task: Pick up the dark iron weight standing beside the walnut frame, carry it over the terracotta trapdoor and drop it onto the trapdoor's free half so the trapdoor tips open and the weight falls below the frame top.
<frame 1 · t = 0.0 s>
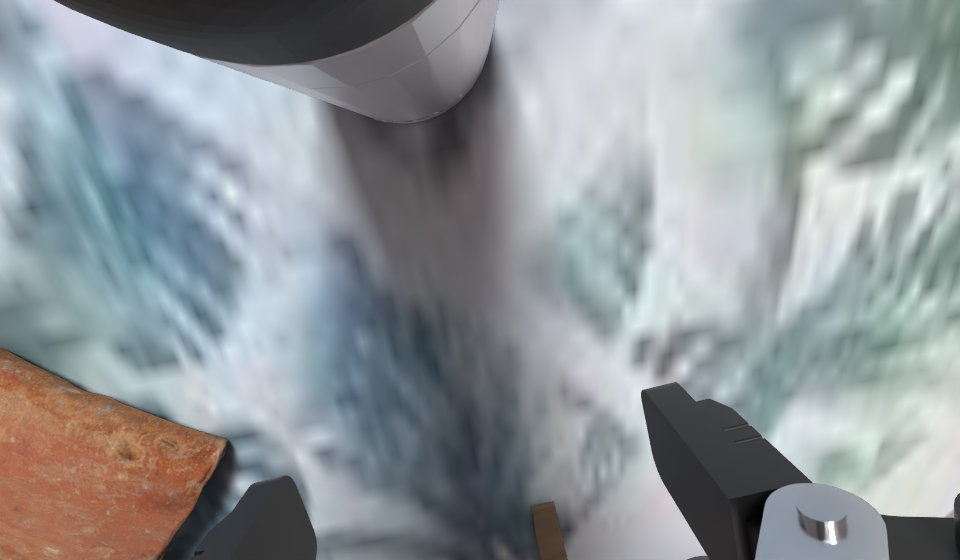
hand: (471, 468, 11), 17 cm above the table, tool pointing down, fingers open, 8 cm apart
reddish brown rock: (90, 475, 31), on the table
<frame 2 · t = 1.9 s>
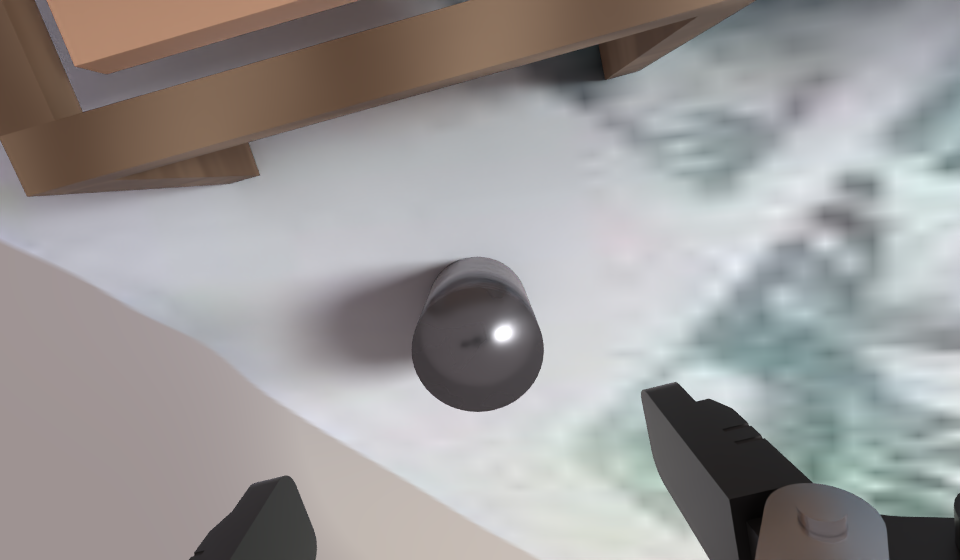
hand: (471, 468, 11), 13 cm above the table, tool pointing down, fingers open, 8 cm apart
iron weight: (477, 305, 23), on the table
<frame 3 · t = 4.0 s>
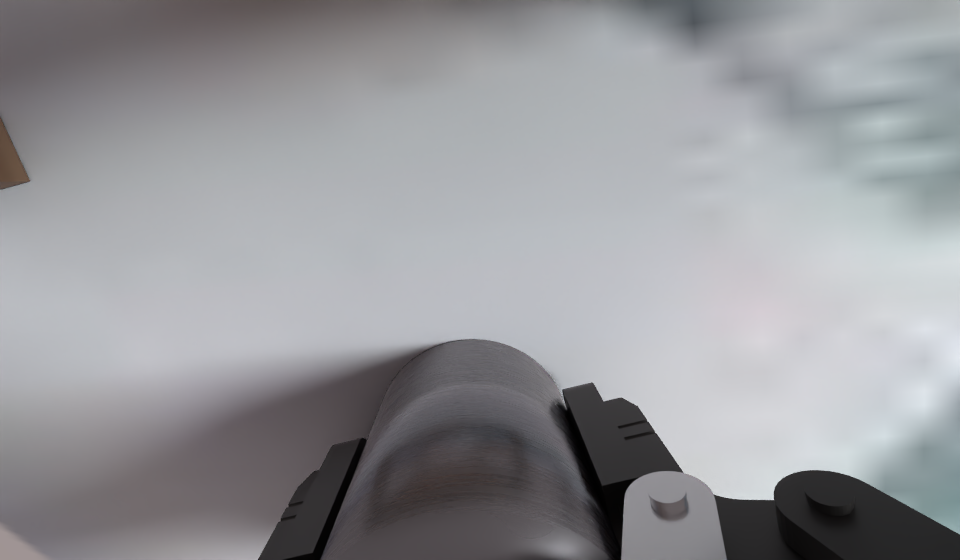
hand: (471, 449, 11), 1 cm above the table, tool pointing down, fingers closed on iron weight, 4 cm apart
iron weight: (473, 428, 12), on the table, touching gripper
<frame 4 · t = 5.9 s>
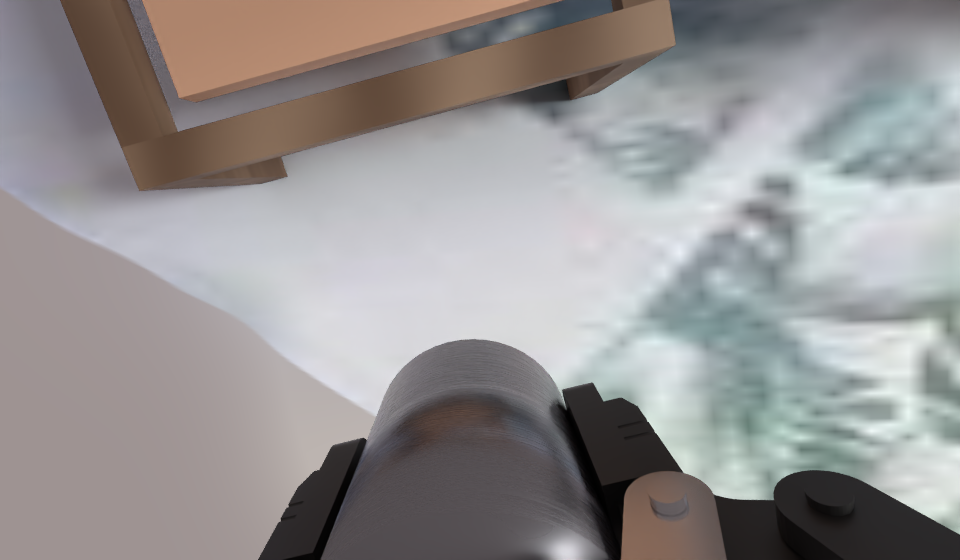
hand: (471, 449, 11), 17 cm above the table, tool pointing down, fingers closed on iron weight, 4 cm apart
iron weight: (473, 427, 12), point 16 cm above the table, touching gripper
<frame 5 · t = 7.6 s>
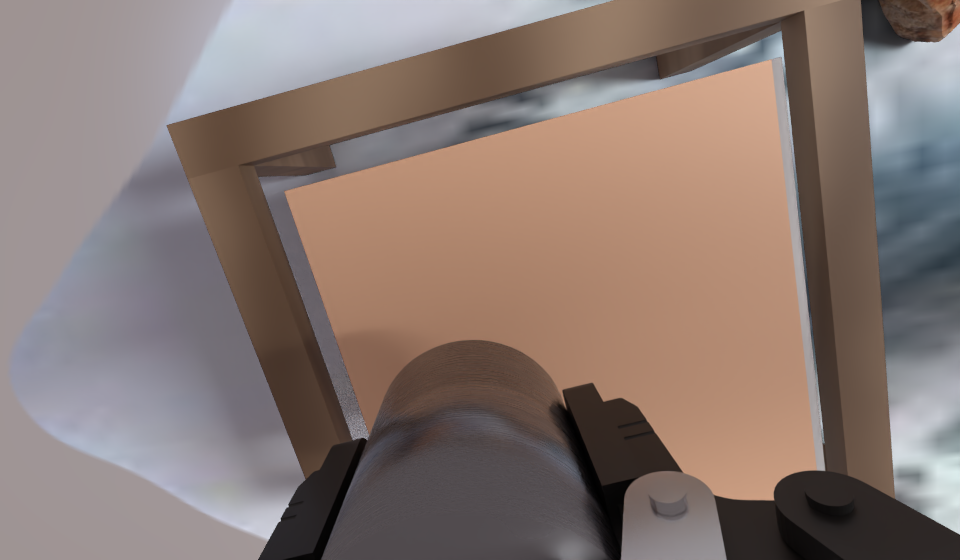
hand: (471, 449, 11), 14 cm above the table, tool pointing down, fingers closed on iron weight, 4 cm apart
iron weight: (473, 428, 12), point 13 cm above the table, touching gripper
trapdoor: (579, 346, 15), point 10 cm above the table, hinge at 0.0°
trapdoor frame: (533, 281, 25), on the table
when the fingers open (14 cm above the table, at t = 8.3 s): iron weight drops 8 cm and tips over, resting on trapdoor.
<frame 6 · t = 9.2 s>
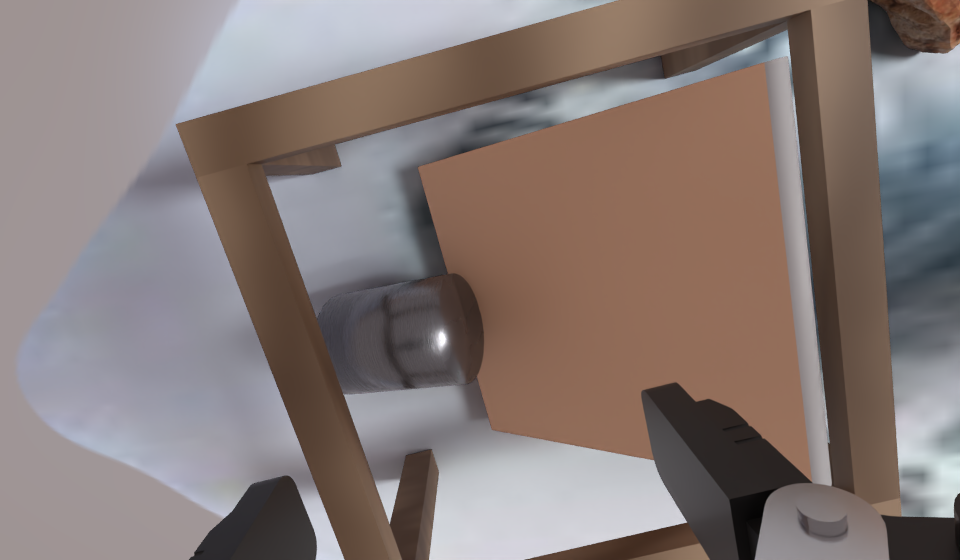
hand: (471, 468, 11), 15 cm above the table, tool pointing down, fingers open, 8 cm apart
iron weight: (461, 327, 21), point 4 cm above the table, tilted 110°, touching trapdoor
trapdoor: (596, 299, 19), point 5 cm above the table, hinge at -38.4°, touching iron weight
trapdoor frame: (538, 280, 25), on the table
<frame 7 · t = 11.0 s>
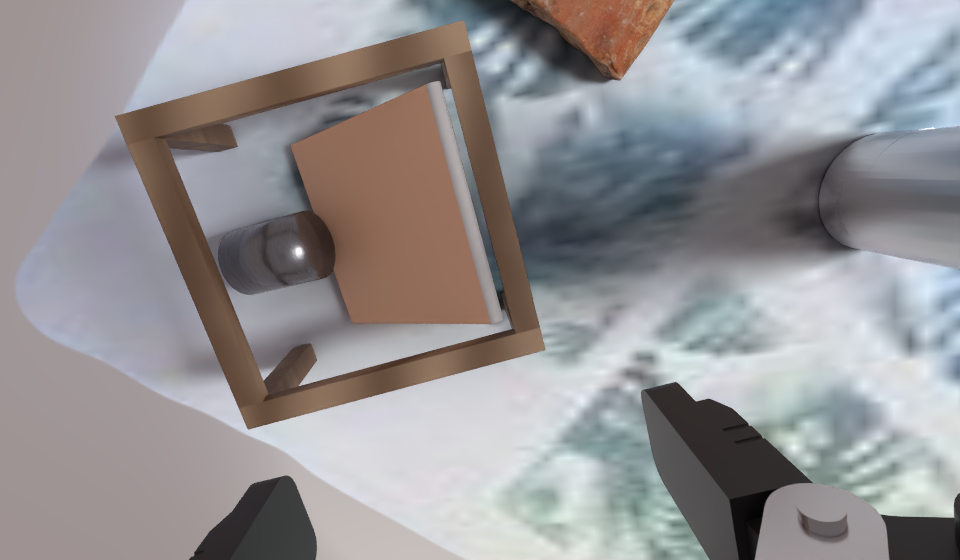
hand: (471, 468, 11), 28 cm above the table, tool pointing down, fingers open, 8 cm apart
iron weight: (314, 244, 33), point 4 cm above the table, tilted 106°, touching trapdoor
trapdoor: (389, 224, 32), point 5 cm above the table, hinge at -40.2°, touching iron weight
trapdoor frame: (375, 223, 37), on the table
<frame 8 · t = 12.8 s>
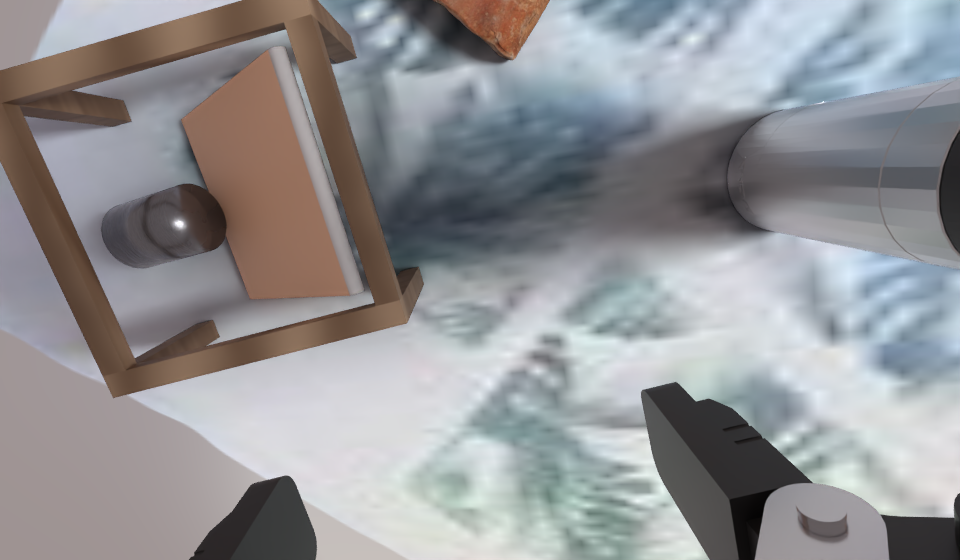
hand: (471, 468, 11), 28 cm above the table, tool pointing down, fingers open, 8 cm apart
iron weight: (198, 217, 33), point 4 cm above the table, tilted 105°, touching trapdoor
trapdoor: (265, 196, 32), point 5 cm above the table, hinge at -40.4°, touching iron weight
trapdoor frame: (271, 199, 37), on the table
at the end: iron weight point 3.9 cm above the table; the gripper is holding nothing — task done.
